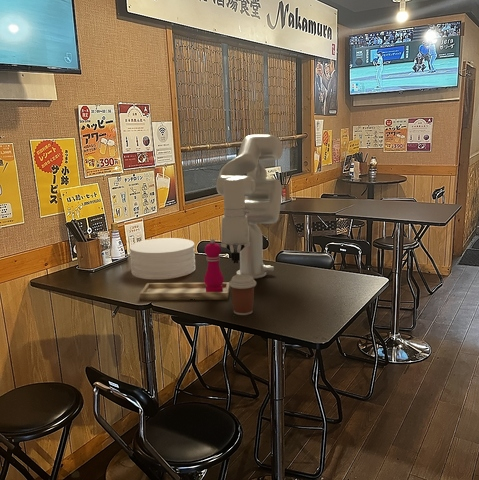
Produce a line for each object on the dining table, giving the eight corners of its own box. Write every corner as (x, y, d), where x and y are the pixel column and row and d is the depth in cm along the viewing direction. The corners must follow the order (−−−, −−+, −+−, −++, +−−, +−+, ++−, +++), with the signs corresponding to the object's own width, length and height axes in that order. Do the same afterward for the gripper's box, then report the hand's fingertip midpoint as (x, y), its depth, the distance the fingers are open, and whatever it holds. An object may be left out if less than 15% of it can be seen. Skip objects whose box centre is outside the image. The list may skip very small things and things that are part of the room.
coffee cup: (262, 310, 161) (261, 276, 158) (245, 318, 154) (244, 283, 152) (241, 304, 167) (240, 271, 164) (224, 312, 160) (222, 278, 157)
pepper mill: (226, 289, 181) (225, 237, 176) (219, 295, 174) (218, 241, 170) (209, 287, 183) (207, 236, 179) (201, 293, 176) (199, 240, 172)
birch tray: (229, 288, 184) (229, 282, 184) (227, 299, 173) (227, 292, 172) (147, 289, 186) (147, 283, 185) (139, 300, 174) (139, 293, 174)
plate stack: (125, 266, 219) (123, 242, 216) (183, 258, 230) (182, 235, 228) (139, 283, 194) (137, 256, 191) (204, 273, 205) (203, 247, 203)
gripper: (255, 210, 175) (256, 259, 179) (214, 211, 176) (216, 259, 180) (255, 214, 168) (256, 264, 172) (212, 215, 168) (214, 265, 172)
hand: (235, 262), depth 176 cm, fingers closed
